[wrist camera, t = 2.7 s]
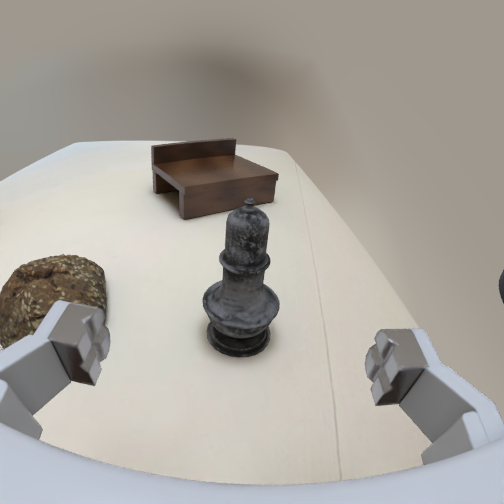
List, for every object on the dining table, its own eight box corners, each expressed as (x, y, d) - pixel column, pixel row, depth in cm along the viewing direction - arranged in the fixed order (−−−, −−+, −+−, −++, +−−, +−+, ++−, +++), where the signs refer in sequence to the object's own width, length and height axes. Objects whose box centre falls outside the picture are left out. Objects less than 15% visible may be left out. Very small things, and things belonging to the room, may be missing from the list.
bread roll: (117, 273, 31) (111, 231, 28) (100, 366, 21) (83, 319, 18) (18, 276, 28) (6, 238, 25) (-22, 356, 18) (-46, 314, 15)
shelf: (230, 177, 60) (232, 138, 56) (275, 202, 51) (281, 155, 47) (152, 190, 52) (151, 145, 48) (185, 221, 42) (184, 165, 38)
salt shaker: (201, 358, 23) (198, 212, 17) (205, 308, 28) (206, 178, 22) (277, 360, 23) (306, 218, 17) (270, 310, 28) (289, 183, 22)
